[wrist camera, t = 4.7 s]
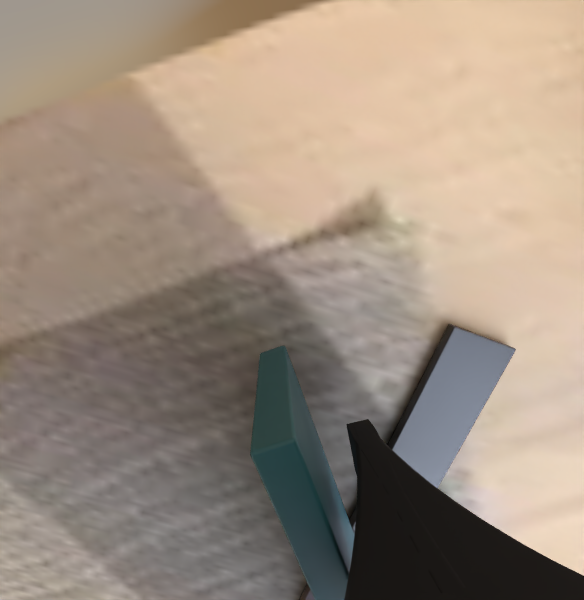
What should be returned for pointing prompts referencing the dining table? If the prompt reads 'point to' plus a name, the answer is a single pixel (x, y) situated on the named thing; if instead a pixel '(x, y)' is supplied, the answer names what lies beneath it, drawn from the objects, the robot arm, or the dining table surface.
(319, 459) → the door
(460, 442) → the door frame
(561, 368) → the dining table surface
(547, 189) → the dining table surface
